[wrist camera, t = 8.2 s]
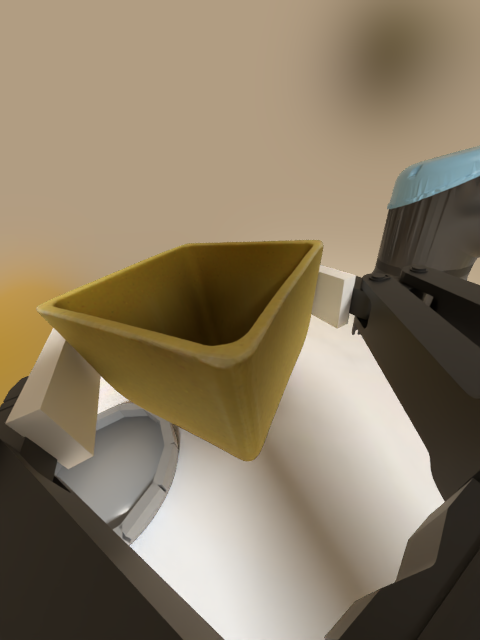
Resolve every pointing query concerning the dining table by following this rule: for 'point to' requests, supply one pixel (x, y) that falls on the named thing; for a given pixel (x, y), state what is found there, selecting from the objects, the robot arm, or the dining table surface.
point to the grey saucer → (126, 469)
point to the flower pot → (199, 333)
